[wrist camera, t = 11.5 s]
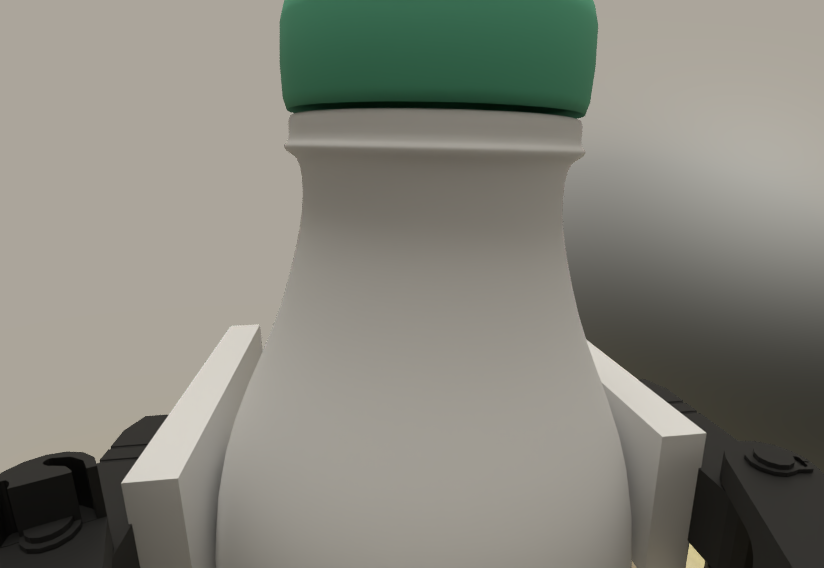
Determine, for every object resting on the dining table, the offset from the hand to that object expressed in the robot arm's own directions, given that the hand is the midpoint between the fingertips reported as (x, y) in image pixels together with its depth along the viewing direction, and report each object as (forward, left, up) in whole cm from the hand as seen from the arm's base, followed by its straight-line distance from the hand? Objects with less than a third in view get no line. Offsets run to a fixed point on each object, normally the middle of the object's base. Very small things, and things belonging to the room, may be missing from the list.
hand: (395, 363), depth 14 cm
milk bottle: (+2, -4, -12) cm, 13 cm away
